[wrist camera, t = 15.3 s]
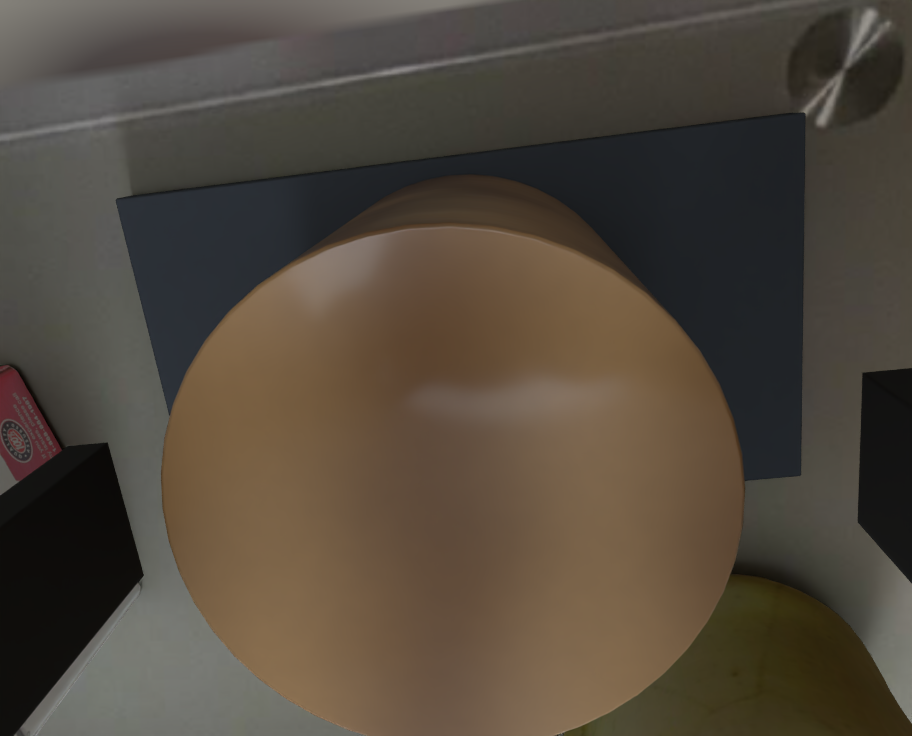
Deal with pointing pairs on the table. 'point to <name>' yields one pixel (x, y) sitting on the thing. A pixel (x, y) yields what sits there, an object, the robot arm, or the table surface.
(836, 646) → the mug
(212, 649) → the table surface
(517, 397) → the tan round tin
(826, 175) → the table surface
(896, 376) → the robot arm
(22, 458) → the ink box
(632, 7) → the table surface
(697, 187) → the mat
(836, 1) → the table surface
